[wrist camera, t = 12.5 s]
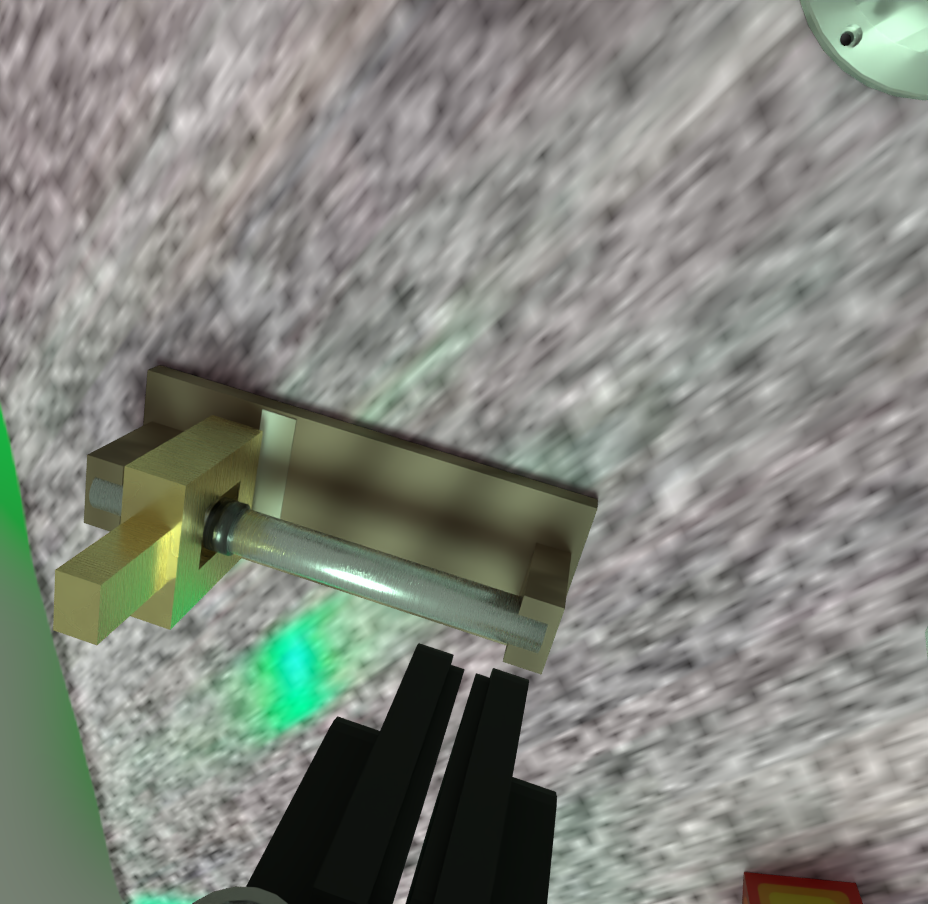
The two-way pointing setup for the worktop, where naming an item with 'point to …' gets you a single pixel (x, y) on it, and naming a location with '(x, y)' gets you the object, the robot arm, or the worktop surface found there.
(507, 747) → the robot arm
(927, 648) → the french press
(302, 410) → the pipe stand
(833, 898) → the baking soda box
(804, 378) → the worktop surface
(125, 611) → the collar
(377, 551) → the pipe
